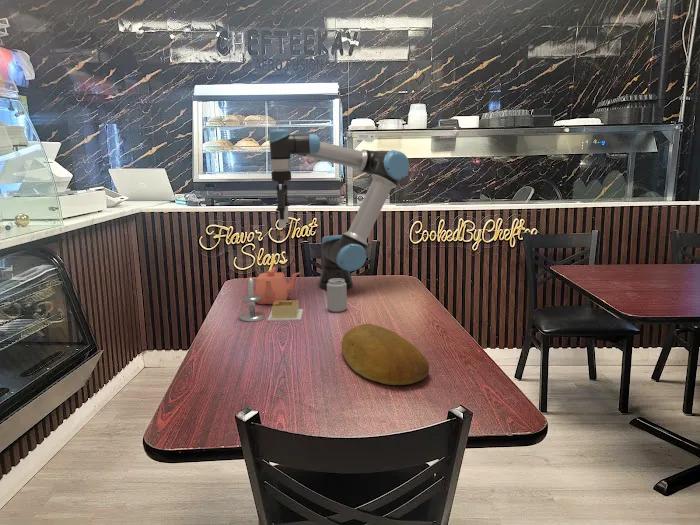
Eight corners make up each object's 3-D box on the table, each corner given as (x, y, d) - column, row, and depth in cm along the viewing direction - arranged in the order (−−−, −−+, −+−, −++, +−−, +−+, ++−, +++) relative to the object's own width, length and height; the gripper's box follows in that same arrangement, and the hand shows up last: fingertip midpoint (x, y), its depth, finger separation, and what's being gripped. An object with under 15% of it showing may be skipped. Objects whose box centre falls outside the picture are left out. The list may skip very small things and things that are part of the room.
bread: (376, 340, 170) (375, 310, 168) (443, 381, 140) (444, 345, 138) (324, 351, 162) (323, 320, 160) (383, 397, 131) (383, 359, 129)
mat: (303, 310, 202) (303, 309, 201) (300, 320, 190) (300, 319, 190) (271, 311, 201) (271, 309, 201) (267, 321, 190) (267, 319, 190)
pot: (303, 300, 216) (302, 270, 213) (268, 309, 204) (267, 278, 201) (275, 292, 228) (274, 264, 226) (241, 300, 217) (240, 270, 214)
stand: (266, 313, 198) (264, 275, 195) (263, 321, 189) (261, 281, 186) (242, 314, 198) (240, 275, 195) (238, 322, 189) (235, 281, 186)
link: (298, 310, 200) (298, 300, 199) (296, 317, 191) (296, 307, 190) (275, 310, 200) (274, 300, 199) (272, 318, 191) (271, 307, 190)
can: (344, 313, 197) (344, 282, 195) (325, 312, 199) (324, 281, 196) (348, 307, 205) (348, 277, 202) (329, 306, 206) (329, 277, 203)
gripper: (274, 169, 215) (277, 220, 220) (267, 172, 191) (271, 230, 195) (292, 168, 215) (295, 220, 220) (288, 171, 191) (291, 229, 196)
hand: (284, 225), depth 208 cm, fingers open, 13 cm apart
